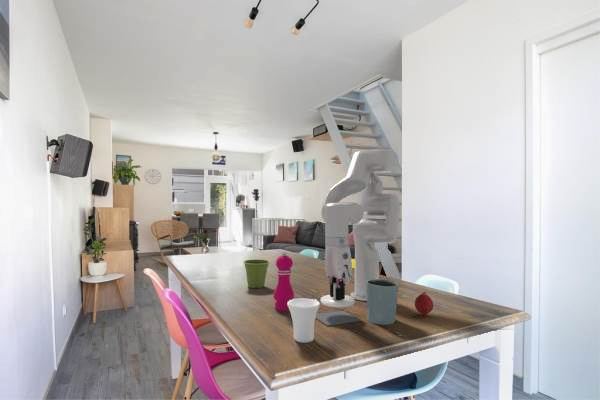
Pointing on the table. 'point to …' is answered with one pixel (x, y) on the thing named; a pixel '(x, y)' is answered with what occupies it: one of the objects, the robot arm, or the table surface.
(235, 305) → the table surface
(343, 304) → the lid
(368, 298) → the blue round container
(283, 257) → the pepper mill
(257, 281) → the plant pot
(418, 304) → the onion
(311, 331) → the cup
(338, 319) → the mat
